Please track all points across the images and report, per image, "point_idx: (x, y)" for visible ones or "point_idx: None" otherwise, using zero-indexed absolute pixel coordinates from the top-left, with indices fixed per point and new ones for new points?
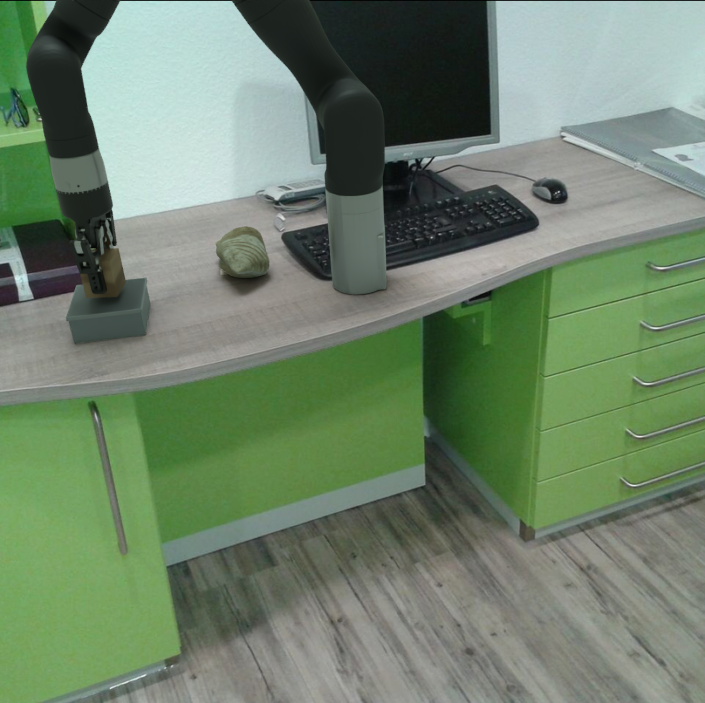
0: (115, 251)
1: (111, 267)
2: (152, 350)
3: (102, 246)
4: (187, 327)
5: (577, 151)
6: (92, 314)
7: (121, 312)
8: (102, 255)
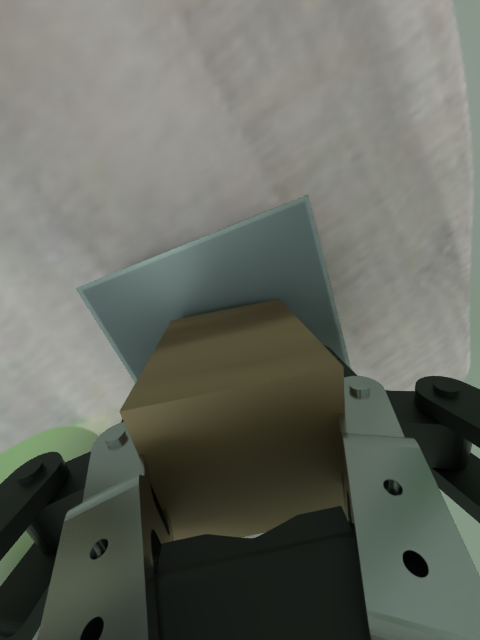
0: (178, 405)
1: (313, 346)
2: (353, 155)
3: (380, 501)
4: (228, 95)
5: None
6: (342, 337)
7: (322, 260)
8: (361, 434)
